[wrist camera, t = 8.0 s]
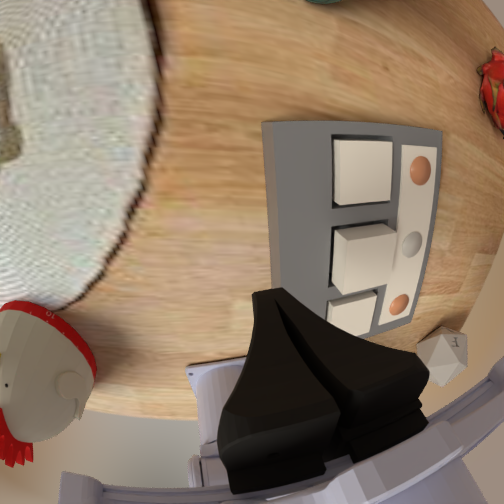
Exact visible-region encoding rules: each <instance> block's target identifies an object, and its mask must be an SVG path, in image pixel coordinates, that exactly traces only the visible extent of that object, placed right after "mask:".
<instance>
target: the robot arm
mask: <svg viewBox="0 0 504 504" xmlns="http://www.w3.org/2000/svg"><path fill="white" fill-rule="evenodd" d="M252 302H253V312H254V326H253V332H252V338H251V343H250V347H249V351H248V354H247V357H243V358H238V359H232V360H226V361H220V362H213V363H206V364H199V365H191V366H187V367H186V368H185V372H186V375H187V377H188V380H189V382H190V385H191V387H192V390H193V392H194V394H195V397H196V399H197V411H198V422H199V432H200V441H201V445H200V454H201V458H200V457H199V455H193V456H192V458H191V459H190V460H189V461H188V479H189V487H190V488H139V487H126V486H114V485H106V484H102V483H101V482H100V481H98V480H97V479H95V478H93V477H90V476H86V475H81V474H76V473H70V472H65V471H63V472H62V473H61V481H60V490H59V501H58V504H488V503H487V501H486V499H485V498H484V496H483V494H482V493H481V491H480V489H479V487H478V485H477V484H476V482H475V480H474V479H473V477H472V475H471V473H470V472H469V470H468V469H467V467H466V465H465V464H464V462H463V460H462V459H461V458H462V457H464V456H465V455H466V454H468V453H469V452H470V451H471V450H472V449H474V448H475V447H476V446H477V445H478V444H480V443H481V442H482V441H483V440H484V439H485V438H486V437H487V436H489V435H490V434H491V433H492V432H493V431H494V430H495V429H496V428H497V427H498V426H499V425H500V424H501V423H502V422H503V421H504V356H503V357H502V358H501V359H500V360H499V361H498V362H497V363H496V364H495V365H494V366H493V367H492V369H491V370H490V372H489V373H488V376H487V377H485V378H484V379H483V380H482V381H480V382H479V383H478V384H476V385H475V386H474V387H472V388H471V389H470V390H468V391H467V392H465V393H464V394H463V395H461V396H460V397H458V398H457V399H455V400H454V401H452V402H451V403H449V404H448V405H446V406H445V407H443V408H441V409H440V410H438V411H437V412H435V413H433V414H432V415H430V416H428V417H425V416H424V414H423V413H422V411H421V410H420V408H421V407H422V403H421V402H420V400H419V399H418V398H419V396H420V394H421V393H422V391H423V389H424V387H425V386H426V384H427V382H428V380H429V375H430V371H429V370H428V368H427V367H426V366H425V364H424V363H423V362H422V360H421V359H420V358H419V357H418V356H417V355H416V354H415V353H412V352H407V351H402V350H397V349H392V348H389V347H385V346H382V345H378V344H375V343H372V342H369V341H367V340H364V339H362V338H359V337H357V336H354V335H352V334H350V333H348V332H346V331H344V330H342V329H340V328H338V327H336V326H334V325H333V324H331V323H329V322H328V321H326V320H324V319H323V318H321V317H320V316H318V315H317V314H315V313H314V312H313V311H311V310H310V309H309V308H307V307H306V306H305V305H303V304H302V303H301V302H300V301H298V300H297V299H296V298H295V297H294V296H292V295H291V294H290V293H289V292H288V291H286V290H285V289H284V288H283V287H280V288H274V289H269V290H263V291H258V292H254V293H253V294H252Z"/></svg>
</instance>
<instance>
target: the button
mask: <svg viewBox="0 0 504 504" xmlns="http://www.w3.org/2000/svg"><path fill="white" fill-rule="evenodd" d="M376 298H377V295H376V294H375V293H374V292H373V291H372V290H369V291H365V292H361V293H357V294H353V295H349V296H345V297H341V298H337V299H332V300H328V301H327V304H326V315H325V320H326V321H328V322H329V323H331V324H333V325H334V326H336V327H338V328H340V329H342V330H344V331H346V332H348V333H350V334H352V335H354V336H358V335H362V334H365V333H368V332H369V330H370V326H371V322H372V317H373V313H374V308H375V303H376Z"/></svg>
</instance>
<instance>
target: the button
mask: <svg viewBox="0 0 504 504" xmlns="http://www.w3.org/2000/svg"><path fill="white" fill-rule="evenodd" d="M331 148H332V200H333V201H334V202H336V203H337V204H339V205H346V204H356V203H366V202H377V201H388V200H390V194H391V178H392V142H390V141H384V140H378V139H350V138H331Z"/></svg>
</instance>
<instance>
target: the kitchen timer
mask: <svg viewBox="0 0 504 504" xmlns="http://www.w3.org/2000/svg"><path fill="white" fill-rule="evenodd" d="M96 371H97V368H96V363H95V358H94V356H93V354H92V352H91V351H90V349H89V347H88V345H87V343H86V342H85V341H84V340H83V339H82V338H81V336H80V335H79V334H78V333H77V332H76V330H75V329H73V328H72V327H71V326H70V325H69V324H67V323H66V322H65V321H64V320H63V319H62V318H60V317H59V316H57V315H56V314H54V313H52V312H51V311H49V310H47V309H46V308H44V307H41V306H39V305H36V304H33V303H31V302H27V301H16V300H15V301H12V302H9V303H6V304H4V305H3V306H2V307H1V309H0V459H2V460H4V459H5V464H6V465H8V466H10V467H13V466H14V464H15V461H16V463H18V464H21V465H24V462H25V459H26V460H28V461H30V462H33V442H40V441H44V440H47V439H50V438H52V437H54V436H56V435H58V434H59V433H60V432H62V431H63V430H64V429H65V428H66V427H67V426H68V425H69V424H70V423H71V422H72V421H73V420H74V419H75V418H77V419H78V420H80V419H81V417H82V414H83V411H84V408H85V404H86V402H87V400H88V398H89V396H90V394H91V392H92V389H93V385H94V380H95V376H96Z"/></svg>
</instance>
